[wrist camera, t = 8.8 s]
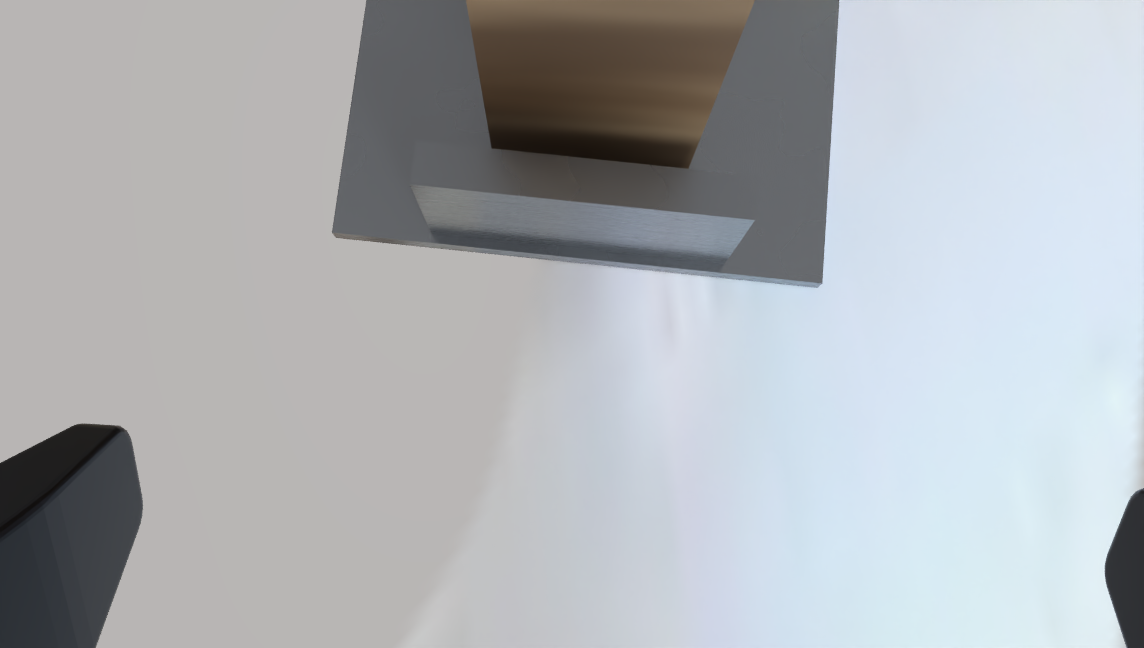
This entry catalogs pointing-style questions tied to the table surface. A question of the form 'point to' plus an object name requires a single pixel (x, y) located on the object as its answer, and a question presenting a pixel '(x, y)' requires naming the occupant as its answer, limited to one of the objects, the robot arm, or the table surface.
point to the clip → (590, 186)
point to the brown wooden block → (603, 74)
